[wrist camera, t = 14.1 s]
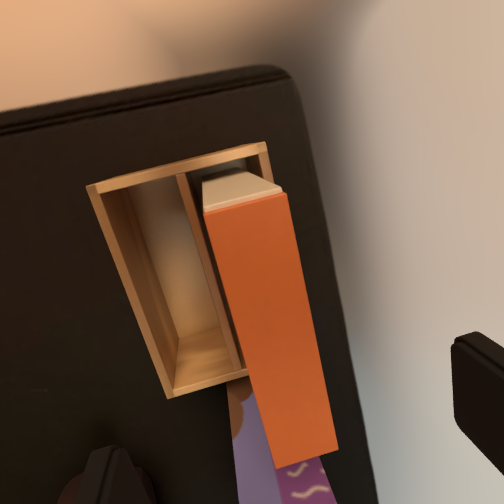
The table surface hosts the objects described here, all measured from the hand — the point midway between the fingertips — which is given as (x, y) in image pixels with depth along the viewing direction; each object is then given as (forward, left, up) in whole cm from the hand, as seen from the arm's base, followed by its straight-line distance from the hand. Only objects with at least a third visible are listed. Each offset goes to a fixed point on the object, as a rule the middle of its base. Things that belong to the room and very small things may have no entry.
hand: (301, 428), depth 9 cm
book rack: (+2, -1, -21) cm, 21 cm away
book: (0, 0, -20) cm, 20 cm away
